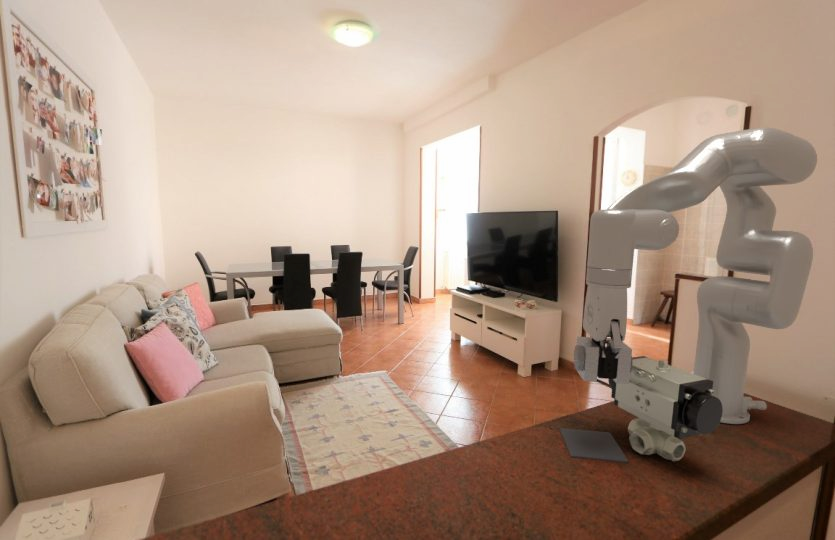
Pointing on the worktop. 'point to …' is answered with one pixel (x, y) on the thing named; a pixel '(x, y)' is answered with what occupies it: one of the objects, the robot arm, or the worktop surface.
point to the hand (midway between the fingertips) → (601, 371)
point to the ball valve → (666, 407)
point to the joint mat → (592, 445)
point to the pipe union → (588, 360)
